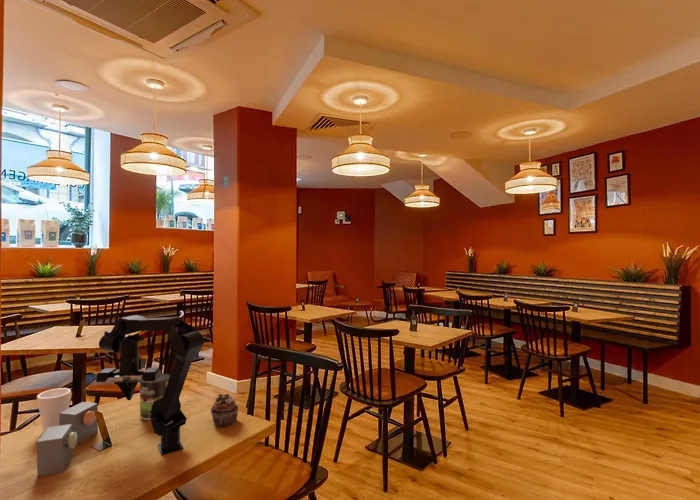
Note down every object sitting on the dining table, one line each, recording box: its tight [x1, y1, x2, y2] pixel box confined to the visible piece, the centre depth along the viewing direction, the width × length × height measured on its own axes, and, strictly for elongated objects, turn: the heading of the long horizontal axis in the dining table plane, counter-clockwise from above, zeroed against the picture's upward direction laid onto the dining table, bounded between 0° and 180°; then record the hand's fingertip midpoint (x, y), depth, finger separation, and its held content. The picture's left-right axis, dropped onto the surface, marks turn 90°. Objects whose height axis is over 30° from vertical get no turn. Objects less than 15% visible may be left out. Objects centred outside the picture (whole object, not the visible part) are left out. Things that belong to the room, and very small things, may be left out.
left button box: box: [36, 424, 73, 477], centre depth 118 cm, size 6×9×10 cm, turn 20°
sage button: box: [65, 432, 77, 449], centre depth 119 cm, size 6×4×4 cm
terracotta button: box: [82, 411, 96, 425], centre depth 134 cm, size 6×4×4 cm
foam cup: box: [36, 387, 72, 433], centre depth 140 cm, size 10×9×13 cm
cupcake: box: [210, 393, 239, 428], centre depth 146 cm, size 10×10×10 cm
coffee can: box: [139, 372, 170, 421], centre depth 152 cm, size 10×10×14 cm
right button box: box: [59, 401, 99, 446], centre depth 135 cm, size 6×9×10 cm, turn 170°
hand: (129, 399), depth 134 cm, fingers closed
